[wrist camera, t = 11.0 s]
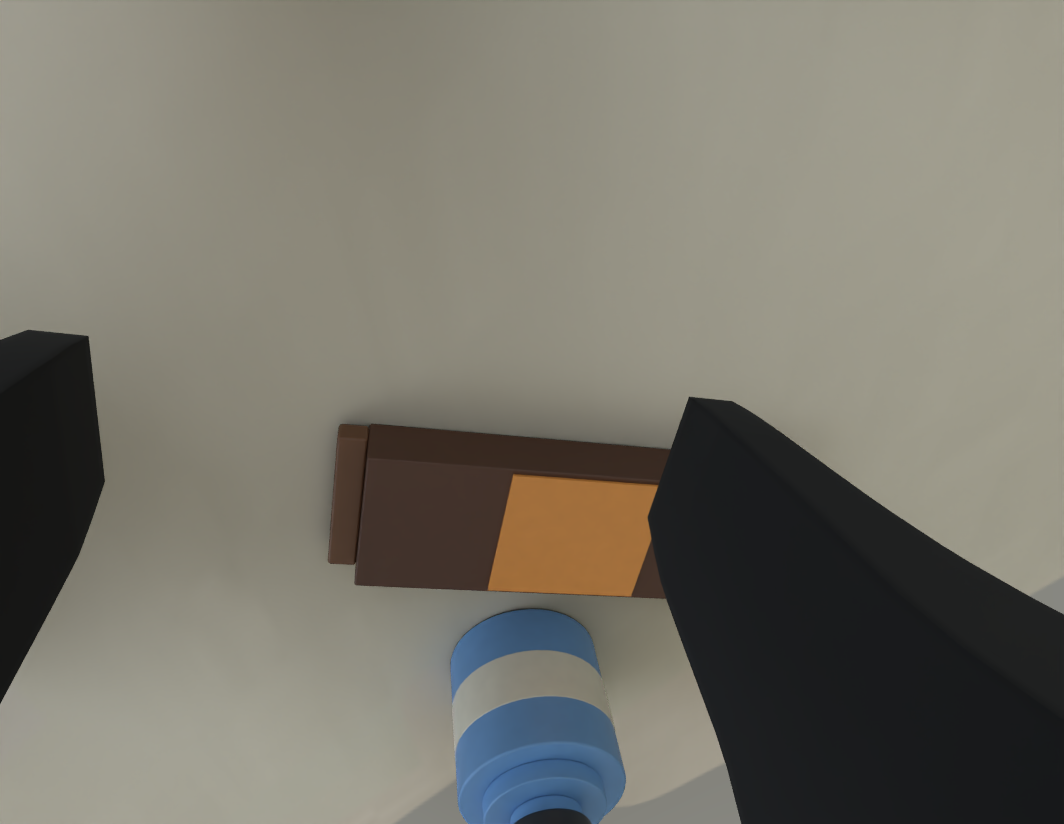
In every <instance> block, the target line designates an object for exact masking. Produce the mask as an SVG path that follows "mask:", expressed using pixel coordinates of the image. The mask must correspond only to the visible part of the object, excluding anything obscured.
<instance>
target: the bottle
mask: <svg viewBox="0 0 1064 824" xmlns="http://www.w3.org/2000/svg"><path fill="white" fill-rule="evenodd" d="M451 685H452V703H453V705H452V715H453V733H454V752H455V761H456V777H457V794H458V806H459V810H460V812H461V814H462V816H463V818H464V819H465V821H466V822H467V823H468V824H599V822H600V821H601V820H602V818H603V817H604V816H605V815H606V814H607V813H608V812H609V811H611V810H612V809H613V808H614V806H615V805H616V804H617V803H618V801H619V800H620V798H621V796H622V794H623V792H624V789H625V783H626V775H625V771H624V767H623V763H622V759H621V754H620V750H619V746H618V742H617V738H616V734H615V727H614V723H613V719H612V715H611V711H610V707H609V703H608V699H607V695H606V691H605V687H604V683H603V680H602V677H601V673H600V669H599V665H598V661H597V657H596V653H595V649H594V645H593V641H592V639H591V637H590V635H589V633H588V632H587V630H586V629H585V628H584V627H583V626H582V625H581V624H580V623H578V622H577V621H576V620H574V619H573V618H571V617H568V616H566V615H564V614H561V613H558V612H554V611H550V610H542V609H524V610H516V611H510V612H506V613H502V614H499V615H496V616H494V617H491V618H489V619H487V620H485V621H483V622H481V623H480V624H478V625H476V626H475V627H473V628H472V629H471V630H470V631H468V632H467V633H466V634H465V635H464V636H463V637H462V639H461V640H460V641H459V642H458V644H457V646H456V648H455V649H454V652H453V654H452V658H451Z"/></svg>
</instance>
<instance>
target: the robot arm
mask: <svg viewBox="0 0 1064 824" xmlns="http://www.w3.org/2000/svg"><path fill="white" fill-rule="evenodd" d="M104 482H105V478H104V469H103V461H102V452H101V443H100V434H99V425H98V417H97V408H96V399H95V390H94V381H93V373H92V364H91V355H90V346H89V337H88V336H83V335H73V334H64V333H54V332H44V331H34V330H27V331H24V332H21V333H18V334H15V335H12V336H10V337H7V338H5V339H2V340H0V703H1V701H2V699H3V698H4V696H5V694H6V692H7V690H8V688H9V686H10V685H11V683H12V681H13V679H14V677H15V675H16V673H17V671H18V670H19V668H20V666H21V664H22V662H23V660H24V658H25V656H26V655H27V653H28V651H29V649H30V647H31V645H32V643H33V642H34V640H35V638H36V636H37V634H38V632H39V630H40V628H41V627H42V625H43V623H44V621H45V619H46V617H47V615H48V614H49V612H50V610H51V608H52V606H53V604H54V602H55V600H56V598H57V596H58V594H59V593H60V591H61V589H62V587H63V585H64V583H65V581H66V579H67V577H68V575H69V573H70V571H71V570H72V568H73V566H74V564H75V562H76V560H77V558H78V556H79V553H80V551H81V548H82V545H83V543H84V540H85V537H86V534H87V532H88V529H89V526H90V524H91V521H92V518H93V515H94V512H95V509H96V506H97V503H98V500H99V497H100V494H101V491H102V488H103V485H104ZM647 518H648V523H649V528H650V534H651V539H652V544H653V550H654V555H655V559H656V563H657V568H658V572H659V576H660V581H661V584H662V587H663V590H664V593H665V596H666V599H667V602H668V605H669V607H670V610H671V613H672V616H673V619H674V621H675V624H676V627H677V630H678V632H679V635H680V638H681V641H682V643H683V646H684V649H685V651H686V654H687V657H688V659H689V662H690V665H691V668H692V670H693V673H694V676H695V678H696V681H697V684H698V686H699V689H700V692H701V695H702V697H703V700H704V703H705V705H706V708H707V711H708V713H709V716H710V719H711V721H712V724H713V727H714V730H715V732H716V735H717V738H718V741H719V744H720V748H721V751H722V754H723V757H724V760H725V763H726V766H727V769H728V773H729V777H730V781H731V785H732V789H733V793H734V797H735V801H736V804H737V808H738V812H739V816H740V820H741V824H1064V615H1063V614H1062V613H1060V612H1058V611H1056V610H1054V609H1052V608H1050V607H1048V606H1046V605H1044V604H1043V603H1041V602H1039V601H1037V600H1035V599H1033V598H1031V597H1030V596H1028V595H1026V594H1024V593H1022V592H1021V591H1019V590H1017V589H1015V588H1014V587H1012V586H1010V585H1008V584H1007V583H1005V582H1003V581H1001V580H1000V579H998V578H996V577H994V576H993V575H991V574H989V573H987V572H986V571H984V570H982V569H980V568H979V567H977V566H975V565H973V564H972V563H970V562H968V561H967V560H965V559H963V558H962V557H960V556H959V555H957V554H955V553H954V552H952V551H950V550H949V549H947V548H945V547H944V546H942V545H941V544H939V543H938V542H936V541H935V540H933V539H932V538H930V537H928V536H927V535H925V534H924V533H922V532H921V531H919V530H918V529H916V528H915V527H913V526H912V525H910V524H909V523H907V522H906V521H904V520H903V519H901V518H900V517H898V516H897V515H895V514H894V513H892V512H891V511H889V510H888V509H886V508H885V507H883V506H882V505H881V504H879V503H878V502H876V501H875V500H873V499H872V498H870V497H869V496H868V495H866V494H865V493H863V492H862V491H861V490H859V489H858V488H856V487H855V486H854V485H852V484H851V483H849V482H848V481H847V480H845V479H844V478H842V477H841V476H840V475H838V474H837V473H836V472H834V471H833V470H831V469H830V468H829V467H827V466H826V465H825V464H823V463H822V462H821V461H819V460H818V459H816V458H815V457H814V456H812V455H811V454H810V453H808V452H807V451H805V450H804V449H803V448H801V447H800V446H799V445H797V444H796V443H795V442H793V441H792V440H790V439H789V438H788V437H786V436H785V435H784V434H782V433H781V432H779V431H778V430H777V429H775V428H774V427H772V426H771V425H769V424H768V423H767V422H765V421H764V420H762V419H761V418H759V417H758V416H756V415H755V414H753V413H752V412H750V411H748V410H747V409H745V408H743V407H742V406H740V405H738V404H736V403H734V402H733V401H724V400H715V399H705V398H695V397H689V399H688V402H687V404H686V407H685V410H684V413H683V416H682V419H681V422H680V425H679V428H678V430H677V433H676V436H675V439H674V442H673V445H672V448H671V451H670V453H669V456H668V459H667V462H666V465H665V468H664V471H663V474H662V476H661V479H660V482H659V485H658V488H657V491H656V494H655V497H654V499H653V502H652V505H651V508H650V511H649V514H648V517H647Z"/></svg>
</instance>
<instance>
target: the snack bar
mask: <svg viewBox="0 0 1064 824" xmlns="http://www.w3.org/2000/svg"><path fill="white" fill-rule="evenodd" d="M670 451H671V450H670V449H658V448H646V447H635V446H623V445H611V444H600V443H588V442H576V441H565V440H553V439H541V438H530V437H518V436H507V435H495V434H483V433H472V432H460V431H448V430H437V429H425V428H413V427H402V426H390V425H378V424H370V427H369V428H368V427H367V426H360V425H348V424H340V426H339V429H338V437H337V449H336V462H335V475H334V488H333V501H332V514H331V527H330V540H329V553H328V562H329V563H331V564H350V565H353V564H355V563H356V570H355V585H361V586H384V587H407V588H430V589H454V590H477V591H500V592H523V593H546V594H569V595H593V596H616V597H639V598H662V599H666V596H665V593H664V590H663V587H662V584H661V581H660V576H659V572H658V568H657V563H656V559H655V555H654V550H653V544H652V539H651V534H650V528H649V523H648V518H647V517H648V514H649V511H650V508H651V505H652V502H653V499H654V497H655V494H656V491H657V488H658V485H659V482H660V479H661V476H662V474H663V471H664V468H665V465H666V462H667V459H668V456H669V453H670Z"/></svg>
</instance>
